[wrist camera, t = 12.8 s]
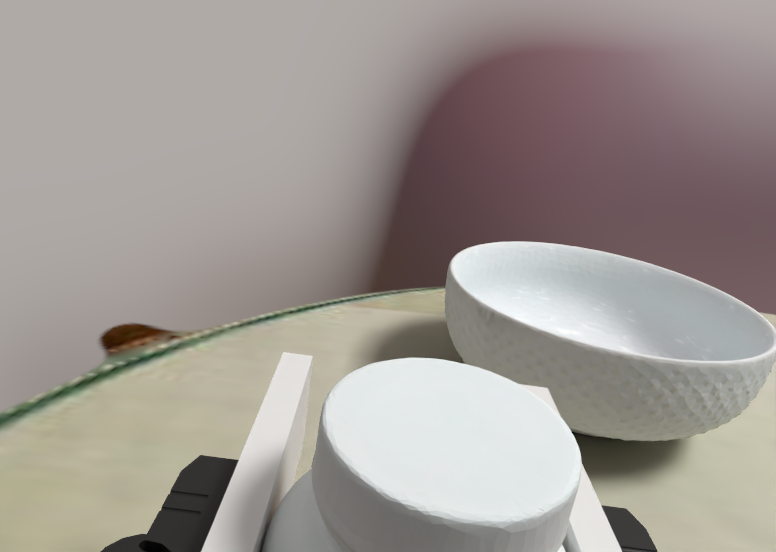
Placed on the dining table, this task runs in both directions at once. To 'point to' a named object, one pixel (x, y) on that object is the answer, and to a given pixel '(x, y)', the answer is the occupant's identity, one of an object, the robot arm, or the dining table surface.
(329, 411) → the supplement bottle
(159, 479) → the dining table surface
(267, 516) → the robot arm
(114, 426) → the dining table surface
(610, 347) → the cereal bowl
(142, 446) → the dining table surface
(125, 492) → the dining table surface
